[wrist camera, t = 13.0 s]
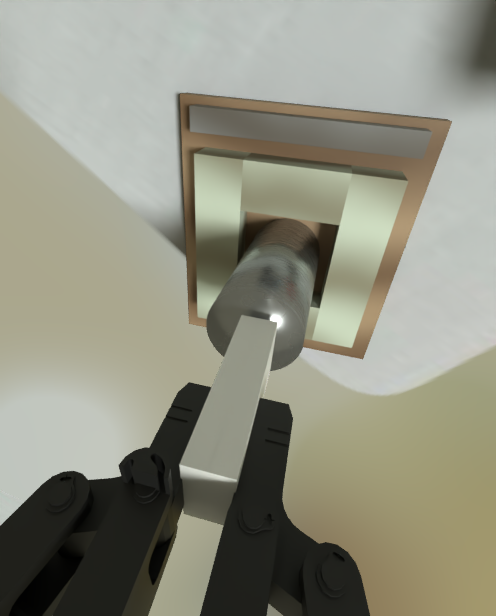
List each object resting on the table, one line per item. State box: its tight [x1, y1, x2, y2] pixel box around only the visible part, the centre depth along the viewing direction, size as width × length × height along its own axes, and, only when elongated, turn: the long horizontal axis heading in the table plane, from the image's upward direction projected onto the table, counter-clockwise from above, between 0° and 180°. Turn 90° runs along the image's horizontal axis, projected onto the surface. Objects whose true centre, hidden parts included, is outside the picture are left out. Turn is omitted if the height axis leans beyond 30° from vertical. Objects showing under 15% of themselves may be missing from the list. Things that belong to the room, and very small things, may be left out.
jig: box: [180, 93, 452, 359], centre depth 22 cm, size 16×14×3 cm
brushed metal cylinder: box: [206, 218, 320, 371], centre depth 18 cm, size 4×4×9 cm
